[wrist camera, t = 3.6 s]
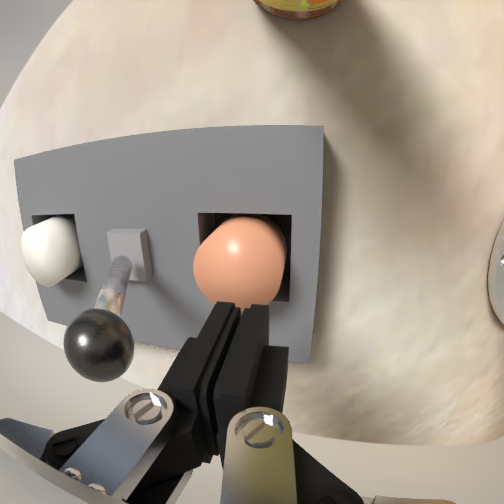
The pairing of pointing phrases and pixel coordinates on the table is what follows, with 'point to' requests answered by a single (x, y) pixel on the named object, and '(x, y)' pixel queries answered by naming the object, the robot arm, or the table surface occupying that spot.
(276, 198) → the control panel
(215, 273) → the terracotta button
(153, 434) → the robot arm
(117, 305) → the toggle lever
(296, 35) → the table surface
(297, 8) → the sauce bottle
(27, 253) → the offwhite button
